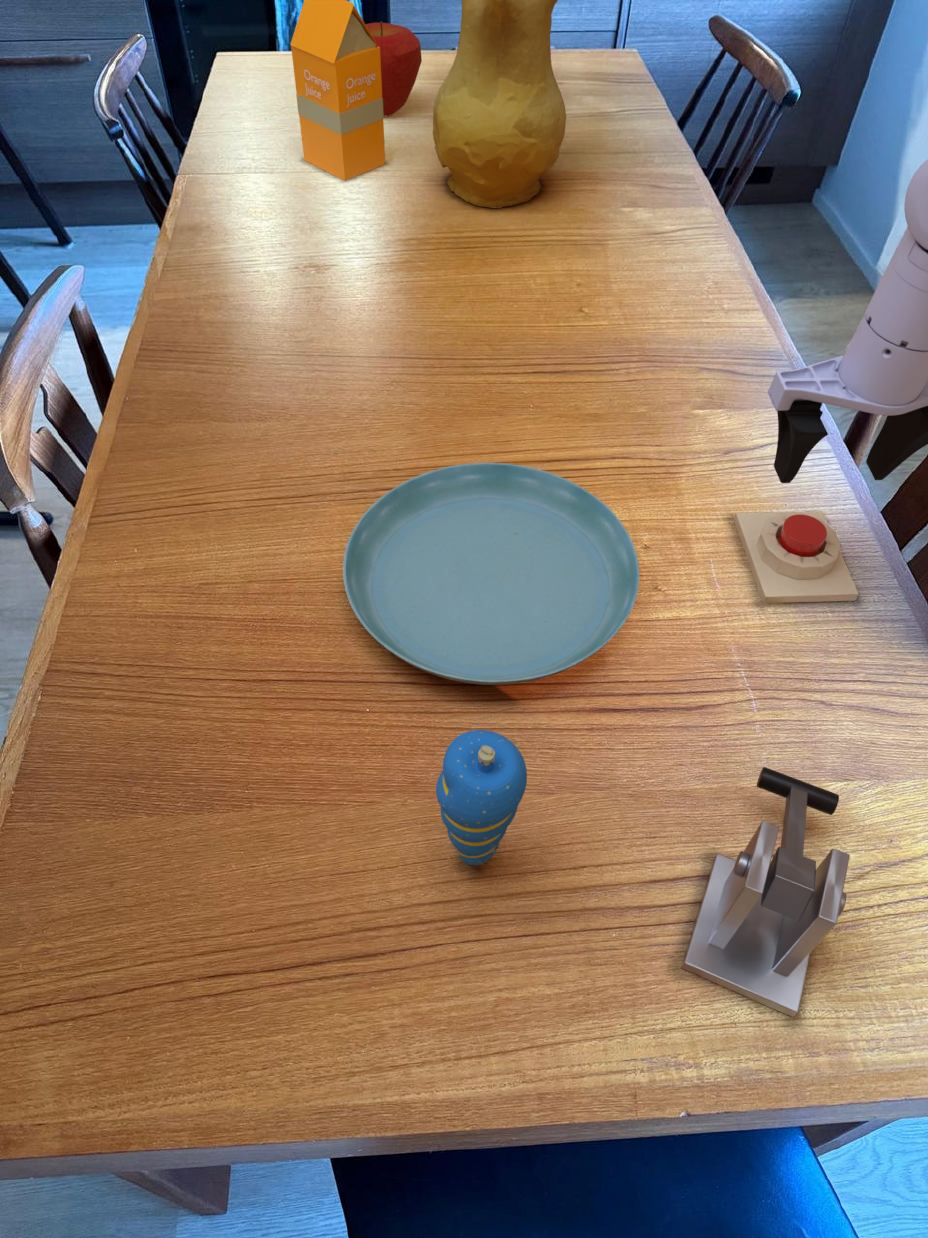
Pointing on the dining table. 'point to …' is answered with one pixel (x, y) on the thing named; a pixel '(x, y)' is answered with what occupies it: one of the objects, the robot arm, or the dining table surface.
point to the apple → (396, 63)
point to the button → (802, 535)
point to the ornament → (480, 792)
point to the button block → (793, 562)
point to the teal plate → (491, 573)
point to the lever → (793, 844)
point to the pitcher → (500, 103)
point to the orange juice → (338, 89)
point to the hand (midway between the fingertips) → (828, 472)
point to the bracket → (761, 926)
